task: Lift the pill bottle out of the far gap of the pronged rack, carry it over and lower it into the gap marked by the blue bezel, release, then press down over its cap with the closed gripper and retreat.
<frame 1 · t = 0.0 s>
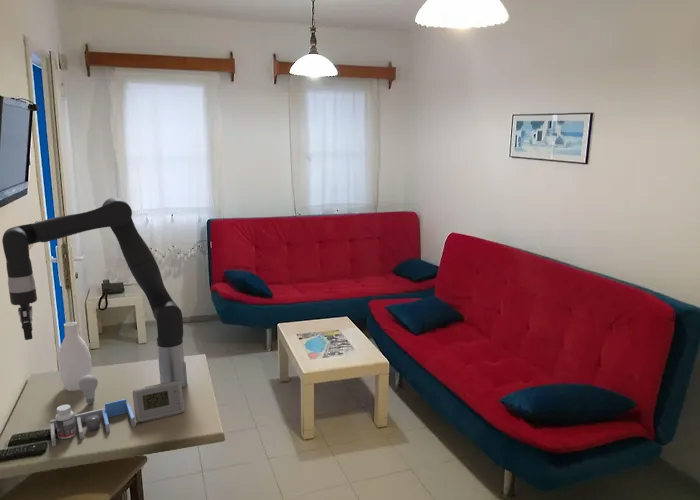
hand: (28, 335, 183), 29 cm above the table, fingers open, 8 cm apart
lightbulb: (90, 404, 197), on the table
digital clock: (160, 416, 188), on the table
pill bottle: (67, 435, 176), resting in pronged rack
pronged rack: (93, 427, 181), on the table
bottle: (78, 386, 211), on the table
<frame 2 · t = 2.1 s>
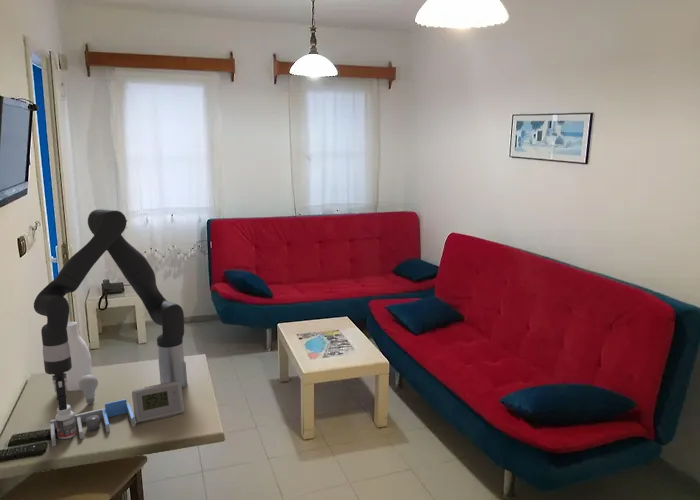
hand: (62, 403, 174), 11 cm above the table, fingers open, 8 cm apart
nothing on the table moved.
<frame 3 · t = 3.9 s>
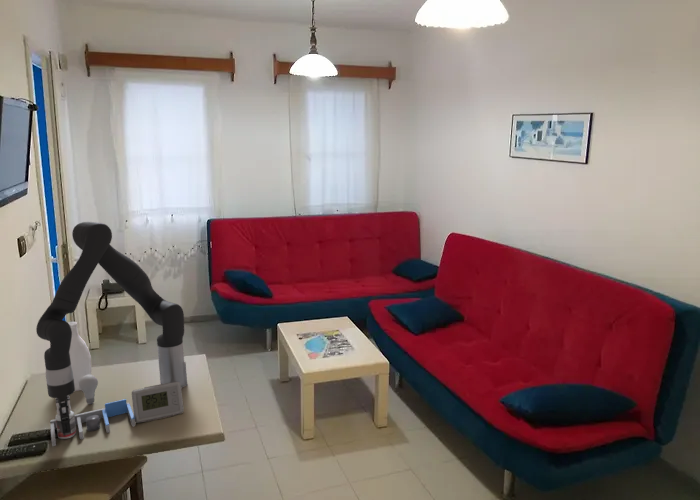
hand: (66, 428, 176), 2 cm above the table, fingers closed on pill bottle, 5 cm apart
pill bottle: (67, 435, 176), resting in pronged rack, touching gripper
everything else where it was.
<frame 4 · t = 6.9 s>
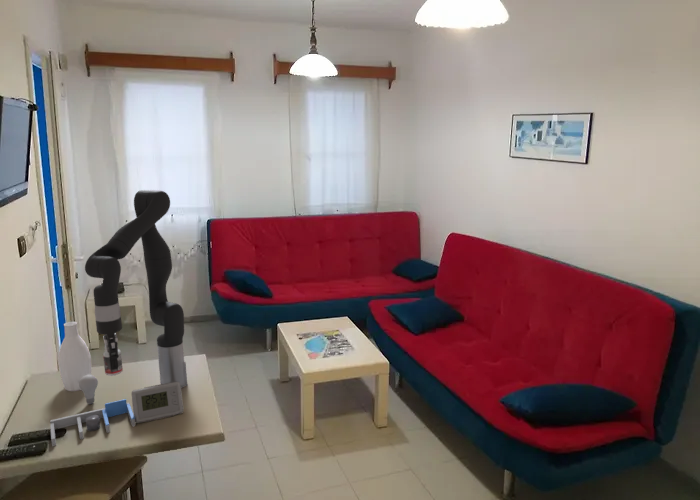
hand: (113, 365, 180), 20 cm above the table, fingers closed on pill bottle, 5 cm apart
pill bottle: (114, 373, 180), point 18 cm above the table, touching gripper
everything else where it was.
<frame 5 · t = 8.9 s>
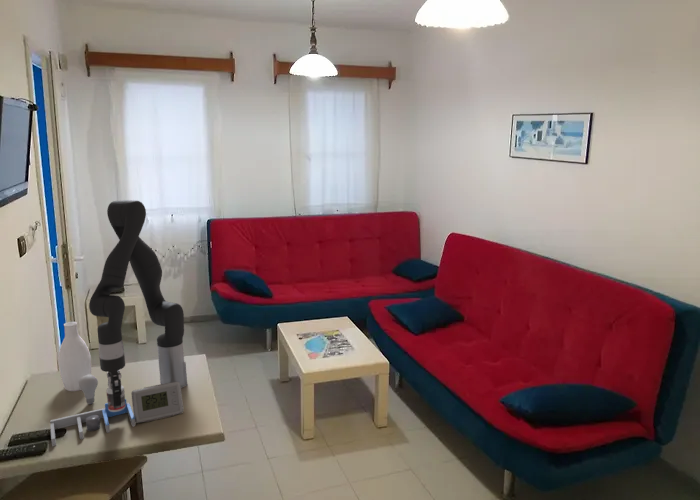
hand: (116, 401, 182), 8 cm above the table, fingers closed on pill bottle, 5 cm apart
pill bottle: (117, 409, 183), point 5 cm above the table, touching gripper
everything else where it was.
when the fingers open (4 cm above the table, at t = 10.3 s): pill bottle drops 1 cm, resting in pronged rack.
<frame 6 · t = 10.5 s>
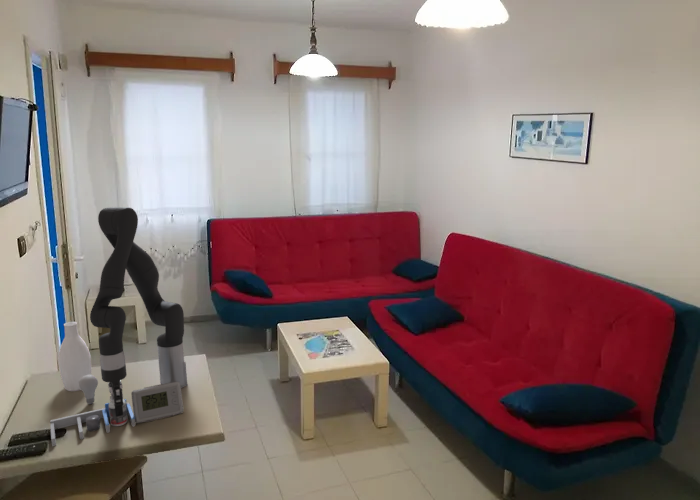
hand: (117, 410, 183), 4 cm above the table, fingers open, 7 cm apart
pill bottle: (119, 423, 184), resting in pronged rack
everything else where it was.
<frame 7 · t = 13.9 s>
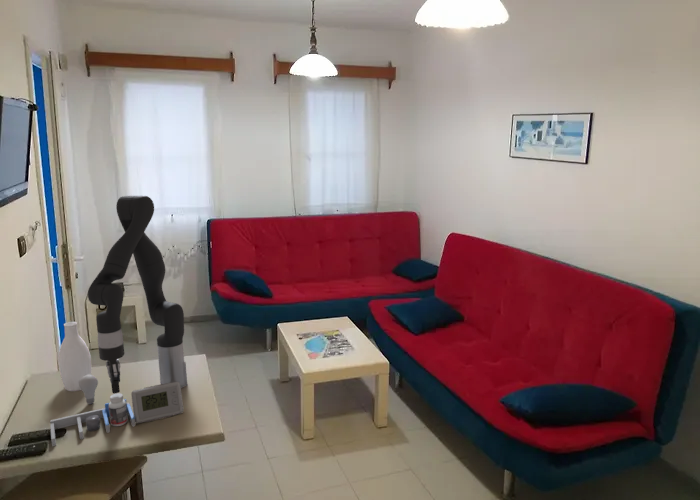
hand: (115, 392, 182), 11 cm above the table, fingers closed
nothing on the table moved.
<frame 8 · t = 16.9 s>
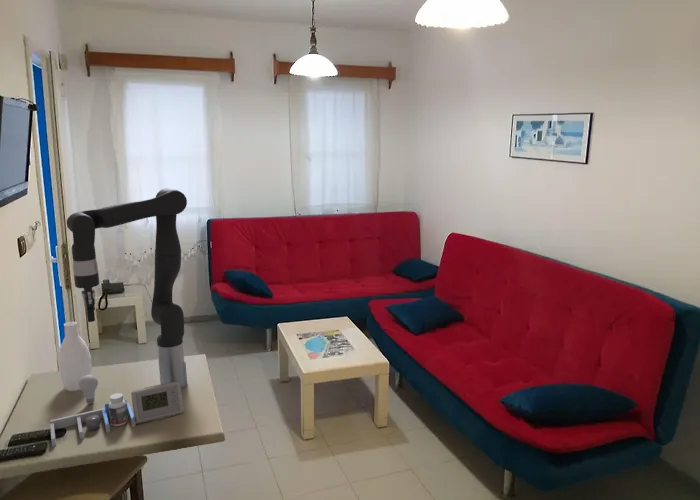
hand: (91, 321, 188), 32 cm above the table, fingers closed
nothing on the table moved.
at the end: pill bottle inside the target area (0.1 cm from its centre), resting in pronged rack; pill bottle tilted 0°; the gripper is holding nothing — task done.
